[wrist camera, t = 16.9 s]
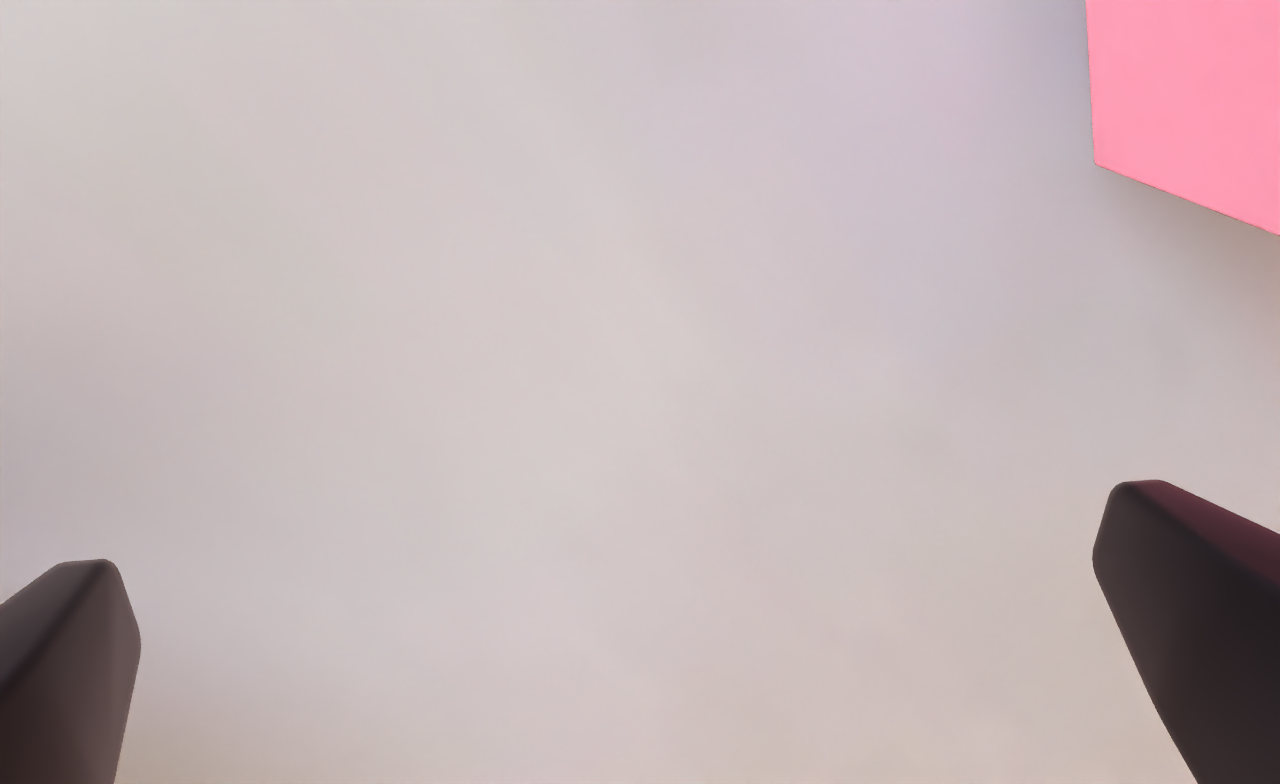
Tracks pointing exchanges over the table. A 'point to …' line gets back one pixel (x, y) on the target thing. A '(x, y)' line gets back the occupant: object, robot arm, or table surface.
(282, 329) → the table surface
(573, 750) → the table surface
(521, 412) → the table surface
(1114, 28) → the pink tunnel block
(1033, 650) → the table surface
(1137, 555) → the robot arm
